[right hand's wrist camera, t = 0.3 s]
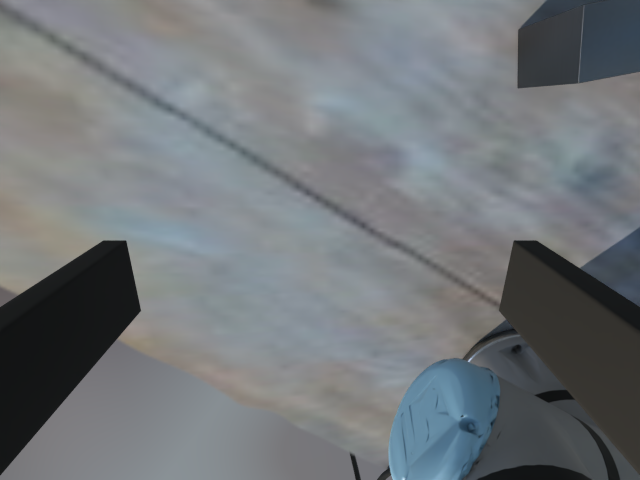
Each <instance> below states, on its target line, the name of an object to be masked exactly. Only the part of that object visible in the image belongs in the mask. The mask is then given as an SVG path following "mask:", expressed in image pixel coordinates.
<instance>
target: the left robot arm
mask: <svg viewBox="0 0 640 480" xmlns="http://www.w3.org/2000/svg"><path fill="white" fill-rule="evenodd" d="M350 457H351V461H352V466H353V470H354V474H355V479H356V480H361V477H360V473H359V469H358V465H357V461H356V457H355V455H354V454H352V453H350ZM389 466H390V468H389V469H387V470H386V471H384V472H383V473H382V474H381V475H380V477H379V478H378V479H377V480H386V478H388V477H389V476H390V475H392V478H393V480H640V475H639V474H638V473H637V472H636V470H635V469H634V468H633V467H632V466H631V465H630V463H629V462H628V461H627V460H626V459H625V457H624V456H623V455H622V454H621V453H620V452H619V450H618V449H617V448H616V447H615V446H614V445H613V443H612V442H611V441H610V440H609V439H608V438H607V436H606V435H605V434H604V433H603V432H602V431H601V429H600V428H599V427H598V426H597V425H596V424H595V422H594V421H593V420H592V419H591V418H590V417H589V415H588V414H587V413H586V412H585V411H584V410H583V408H582V407H581V406H580V405H579V404H578V402H577V401H576V400H575V399H574V398H573V397H572V395H571V394H570V393H569V392H568V391H567V390H566V388H565V387H564V386H563V385H562V384H561V383H560V381H559V380H558V379H557V378H556V377H555V376H554V374H553V373H552V372H551V371H550V370H549V369H548V367H547V366H546V365H545V364H544V363H543V362H542V360H541V359H540V358H539V357H538V356H537V355H536V353H535V352H534V351H533V350H532V349H531V347H530V346H529V345H528V344H527V343H526V342H525V340H524V339H523V338H522V337H521V336H520V335H519V333H518V332H517V331H516V330H509V331H504V332H501V333H498V334H495V335H493V336H490V337H488V338H486V339H485V340H483V341H481V342H480V343H478V344H477V345H476V346H474V347H473V348H472V349H471V350H470V351H469V352H468V353H467V354H466V356H465V357H464V358H463V359H458V358H454V359H449V360H447V359H446V360H441V361H438V362H436V363H434V364H432V365H431V366H429V367H428V368H426V369H425V370H424V371H423V372H422V373H421V374H420V375H419V376H418V377H417V378H416V379H415V380H414V382H413V383H412V384H411V386H410V387H409V389H408V390H407V392H406V394H405V395H404V397H403V399H402V401H401V403H400V405H399V408H398V411H397V414H396V416H395V418H394V422H393V425H392V429H391V434H390V441H389Z"/></svg>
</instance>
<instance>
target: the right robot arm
mask: <svg viewBox="0 0 640 480" xmlns="http://www.w3.org/2000/svg"><path fill="white" fill-rule="evenodd" d="M140 311H141V309H140V304H139V299H138V295H137V290H136V285H135V280H134V276H133V271H132V266H131V261H130V257H129V252H128V247H127V242H126V241H102V242H101V243H99V244H98V245H96V246H94V247H93V248H91V249H90V250H88V251H87V252H85V253H84V254H82V255H80V256H79V257H77V258H76V259H74V260H73V261H71V262H70V263H68V264H66V265H65V266H63V267H62V268H60V269H59V270H57V271H56V272H54V273H53V274H51V275H49V276H48V277H46V278H45V279H43V280H42V281H40V282H39V283H37V284H35V285H34V286H32V287H31V288H29V289H28V290H26V291H25V292H23V293H21V294H20V295H18V296H17V297H15V298H14V299H12V300H11V301H9V302H7V303H6V304H4V305H3V306H1V307H0V475H1V474H2V473H3V472H4V470H5V469H6V468H7V467H8V466H9V464H10V463H11V462H12V461H13V460H14V459H15V457H16V456H17V455H18V454H19V453H20V452H21V450H22V449H23V448H24V447H25V446H26V445H27V443H28V442H29V441H30V440H31V439H32V438H33V436H34V435H35V434H36V433H37V432H38V431H39V429H40V428H41V427H42V426H43V425H44V424H45V422H46V421H47V420H48V419H49V418H50V417H51V415H52V414H53V413H54V412H55V411H56V410H57V408H58V407H59V406H60V405H61V404H62V402H63V401H64V400H65V399H66V398H67V397H68V395H69V394H70V393H71V392H72V391H73V390H74V388H75V387H76V386H77V385H78V384H79V383H80V381H81V380H82V379H83V378H84V377H85V376H86V374H87V373H88V372H89V371H90V370H91V368H92V367H93V366H94V365H95V364H96V363H97V362H98V360H99V359H100V358H101V357H102V356H103V354H104V353H105V352H106V351H107V350H108V349H109V347H110V346H111V345H112V344H113V343H114V342H115V340H116V339H117V338H118V337H119V336H120V335H121V333H122V332H123V331H124V330H125V329H126V328H127V326H128V325H129V324H130V323H131V322H132V321H133V319H134V318H135V317H136V316H137V315H138V314H139V312H140ZM499 311H500V312H501V314H502V315H503V316H504V317H505V318H506V319H507V321H508V322H509V323H510V324H511V325H512V326H513V328H514V329H515V330H516V331H517V332H518V333H519V335H520V336H521V337H522V338H523V339H524V340H525V342H526V343H527V344H528V345H529V346H530V347H531V349H532V350H533V351H534V352H535V353H536V355H537V356H538V357H539V358H540V359H541V360H542V362H543V363H544V364H545V365H546V366H547V367H548V369H549V370H550V371H551V372H552V373H553V374H554V376H555V377H556V378H557V379H558V380H559V381H560V383H561V384H562V385H563V386H564V387H565V388H566V390H567V391H568V392H569V393H570V394H571V395H572V397H573V398H574V399H575V400H576V401H577V402H578V404H579V405H580V406H581V407H582V408H583V410H584V411H585V412H586V413H587V414H588V415H589V417H590V418H591V419H592V420H593V421H594V422H595V424H596V425H597V426H598V427H599V428H600V429H601V431H602V432H603V433H604V434H605V435H606V436H607V438H608V439H609V440H610V441H611V442H612V443H613V445H614V446H615V447H616V448H617V449H618V450H619V452H620V453H621V454H622V455H623V456H624V457H625V459H626V460H627V461H628V462H629V463H630V465H631V466H632V467H633V468H634V469H635V470H636V472H637V473H638V474H639V475H640V307H639V306H637V305H636V304H634V303H633V302H631V301H629V300H628V299H626V298H625V297H623V296H622V295H620V294H619V293H617V292H615V291H614V290H612V289H611V288H609V287H608V286H606V285H605V284H603V283H601V282H600V281H598V280H597V279H595V278H594V277H592V276H591V275H589V274H587V273H586V272H584V271H583V270H581V269H580V268H578V267H577V266H575V265H574V264H572V263H570V262H569V261H567V260H566V259H564V258H563V257H561V256H560V255H558V254H556V253H555V252H553V251H552V250H550V249H549V248H547V247H546V246H544V245H542V244H541V243H539V242H538V241H514V242H513V247H512V252H511V257H510V261H509V266H508V271H507V276H506V280H505V285H504V290H503V295H502V299H501V304H500V309H499Z"/></svg>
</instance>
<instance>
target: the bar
mask: <svg viewBox="0 0 640 480" xmlns="http://www.w3.org/2000/svg"><path fill="white" fill-rule="evenodd" d="M636 72H640V0H605V1H600V2H595V3H590V4H585V5H582V6H579V7H577V8H574V9H571V10H569V11H566V12H564V13H561V14H558V15H556V16H553V17H550V18H548V19H545V20H542V21H540V22H537V23H534V24H532V25H529V26H527V27H524V28H521V29H519V30H518V88H527V87H539V86H551V85H563V84H576V83H583V82H588V81H593V80H599V79H604V78H609V77H615V76H620V75H625V74H630V73H636Z"/></svg>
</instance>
